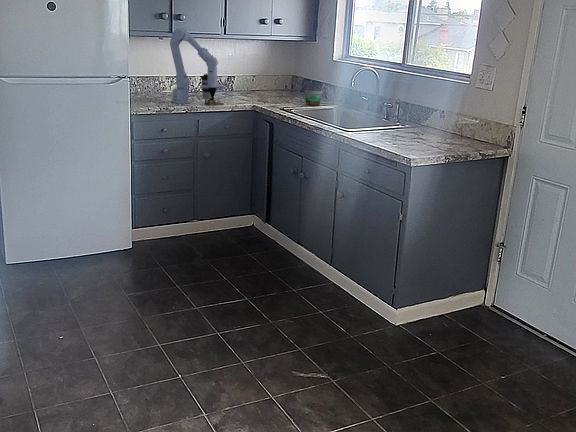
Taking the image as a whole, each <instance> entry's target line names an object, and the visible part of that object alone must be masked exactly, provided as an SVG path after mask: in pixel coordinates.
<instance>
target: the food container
mask: <svg viewBox="0 0 576 432" xmlns="http://www.w3.org/2000/svg"><path fill="white" fill-rule="evenodd" d="M304 93H305V97H304V98H305V106H307V105H308V106H309V107H320V104H321V100H322V95H323V90H310V89H309V90H308V89H305V90H304ZM304 93H303V94H304Z"/></svg>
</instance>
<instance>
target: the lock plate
mask: <svg viewBox="0 0 576 432" xmlns="http://www.w3.org/2000/svg"><path fill="white" fill-rule="evenodd" d="M203 104H204V106H208V107H209V106H210V107H211V106H213V107H214V106H215V107H216V106H224V105H225V103H224V102H221V101H216V102H213V103H209V99H207V98H204V103H203Z"/></svg>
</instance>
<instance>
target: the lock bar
mask: <svg viewBox="0 0 576 432" xmlns="http://www.w3.org/2000/svg"><path fill="white" fill-rule="evenodd" d="M216 99H217V97H214V101H212V98H210V99H208V100H209V103H213V102H217V100H216Z"/></svg>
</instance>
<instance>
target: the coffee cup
mask: <svg viewBox="0 0 576 432" xmlns="http://www.w3.org/2000/svg"><path fill="white" fill-rule="evenodd" d="M200 79H201V85H208V73H205V74H203V75H201V77H200ZM209 88H215V87H209ZM209 88H201V92H202V98H203V99H207V100H209V99H210V98H211V94H210V92H209Z"/></svg>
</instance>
